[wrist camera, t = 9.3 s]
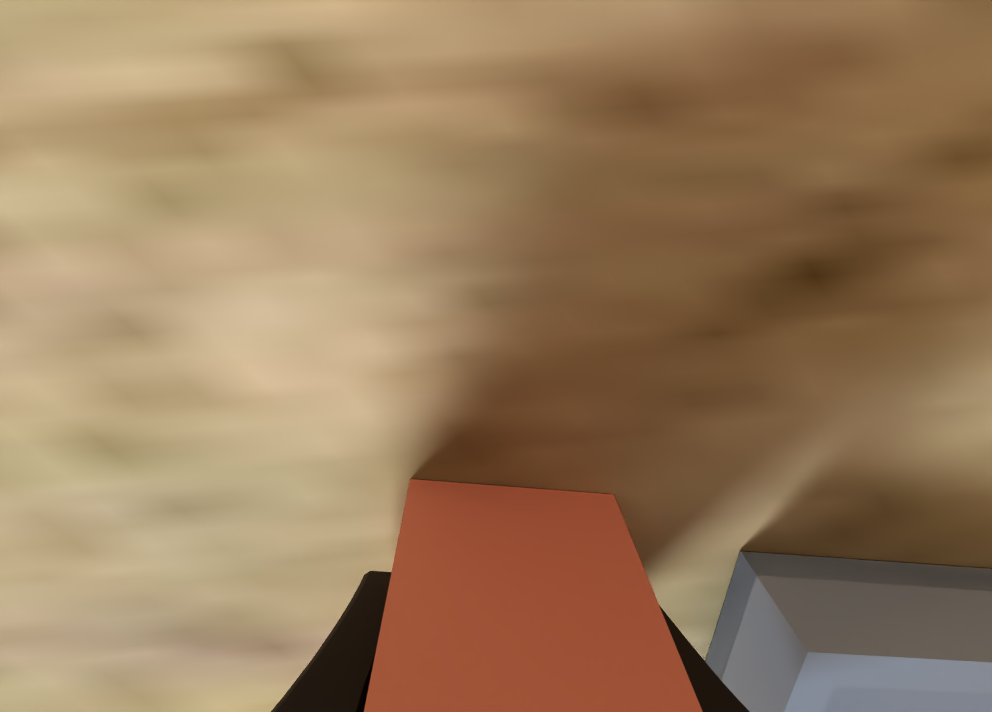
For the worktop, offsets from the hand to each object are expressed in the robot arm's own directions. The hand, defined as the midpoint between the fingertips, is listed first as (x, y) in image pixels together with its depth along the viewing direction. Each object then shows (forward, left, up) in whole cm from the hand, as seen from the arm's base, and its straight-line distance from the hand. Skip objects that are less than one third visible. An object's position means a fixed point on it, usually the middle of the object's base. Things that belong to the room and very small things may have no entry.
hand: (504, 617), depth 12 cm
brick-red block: (0, 0, -1) cm, 1 cm away
